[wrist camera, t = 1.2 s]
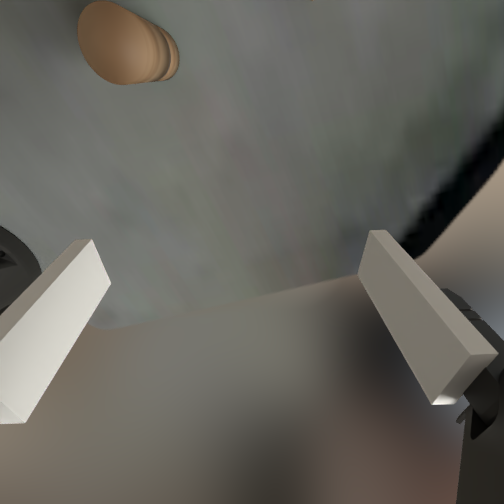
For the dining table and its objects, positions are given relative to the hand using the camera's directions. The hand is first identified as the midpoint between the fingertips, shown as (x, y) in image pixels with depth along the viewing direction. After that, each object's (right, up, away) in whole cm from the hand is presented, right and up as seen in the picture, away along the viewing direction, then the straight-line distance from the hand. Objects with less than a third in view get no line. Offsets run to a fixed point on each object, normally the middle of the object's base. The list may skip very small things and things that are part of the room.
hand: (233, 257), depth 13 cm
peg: (-8, +19, +11) cm, 23 cm away
